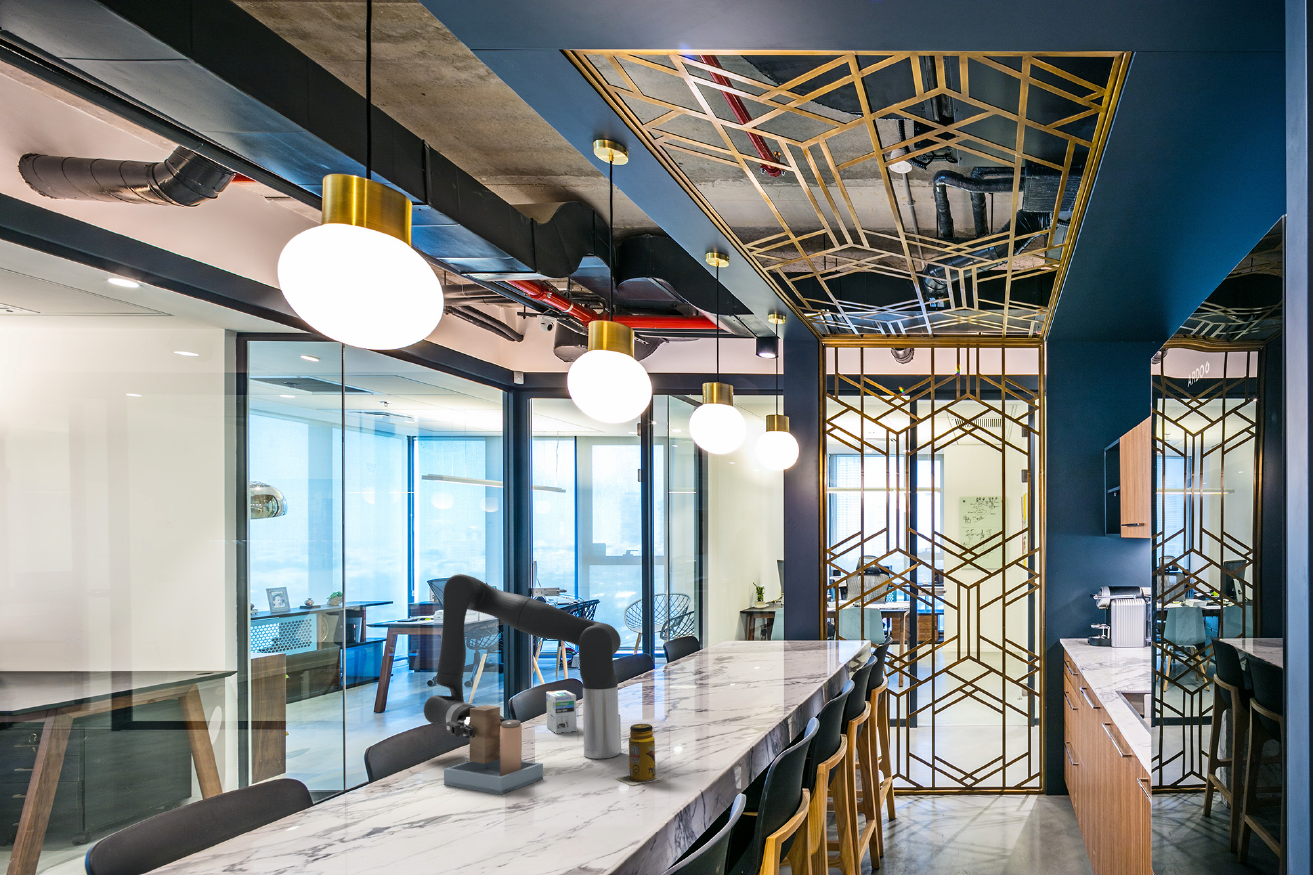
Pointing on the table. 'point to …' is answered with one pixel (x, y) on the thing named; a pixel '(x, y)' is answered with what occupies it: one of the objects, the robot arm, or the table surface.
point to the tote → (491, 776)
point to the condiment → (641, 755)
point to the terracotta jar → (510, 747)
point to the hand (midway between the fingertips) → (488, 730)
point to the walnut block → (485, 734)
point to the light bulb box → (561, 711)
